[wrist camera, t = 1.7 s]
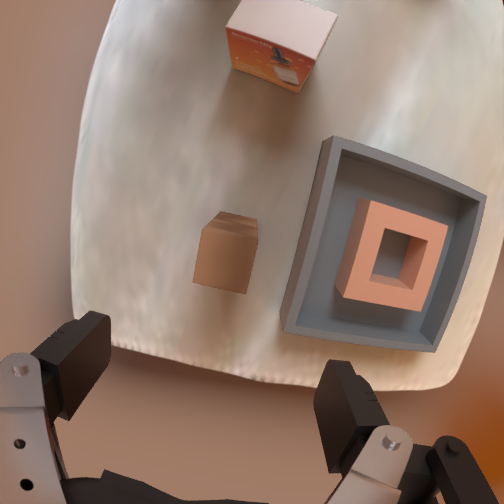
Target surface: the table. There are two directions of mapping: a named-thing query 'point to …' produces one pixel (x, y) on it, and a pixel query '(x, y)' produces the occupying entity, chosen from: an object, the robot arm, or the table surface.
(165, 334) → the table surface
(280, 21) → the small box
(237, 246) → the walnut peg
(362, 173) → the walled bin
